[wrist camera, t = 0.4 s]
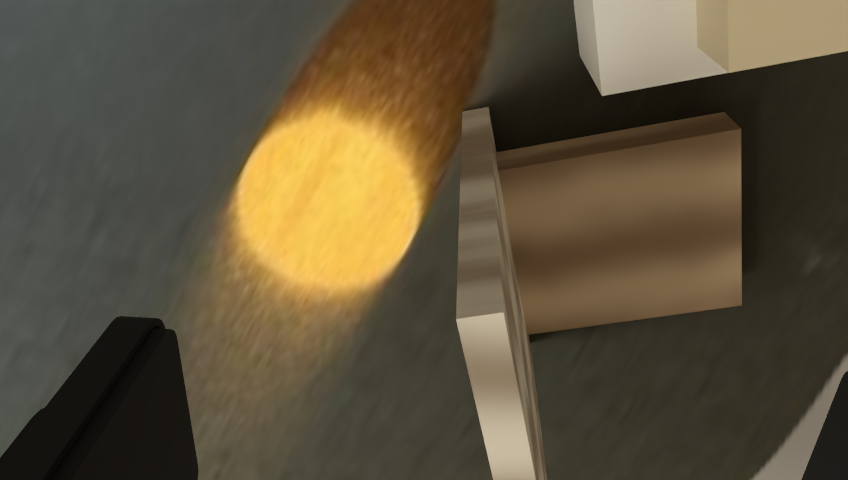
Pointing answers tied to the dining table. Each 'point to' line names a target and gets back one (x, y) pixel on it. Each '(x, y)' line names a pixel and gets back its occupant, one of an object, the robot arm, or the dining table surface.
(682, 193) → the wooden l-shaped stand
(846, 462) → the robot arm
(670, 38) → the beige and white blocks
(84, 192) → the dining table surface
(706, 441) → the dining table surface
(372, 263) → the dining table surface
